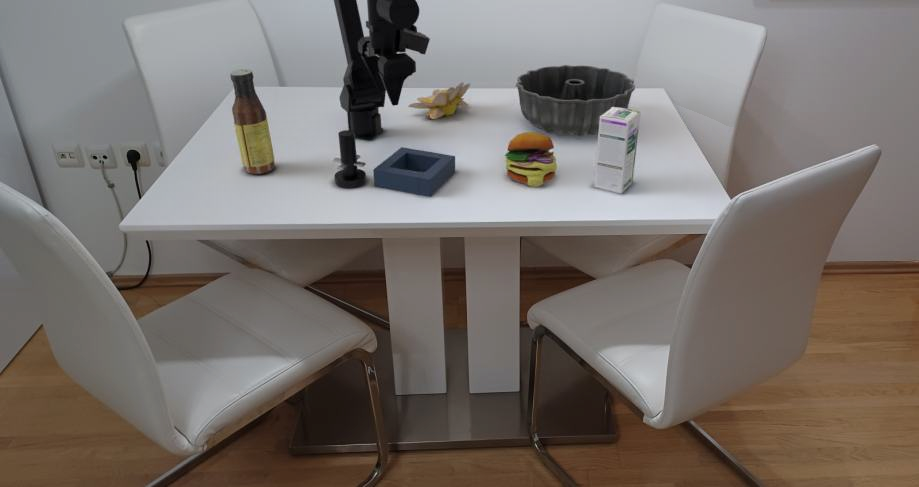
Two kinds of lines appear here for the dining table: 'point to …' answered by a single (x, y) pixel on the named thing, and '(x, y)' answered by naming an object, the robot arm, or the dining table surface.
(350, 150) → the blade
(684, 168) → the dining table surface
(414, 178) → the blue square frame
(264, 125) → the sauce bottle
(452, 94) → the decorative flower
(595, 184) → the syrup box
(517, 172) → the cheeseburger
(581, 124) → the bundt pan
